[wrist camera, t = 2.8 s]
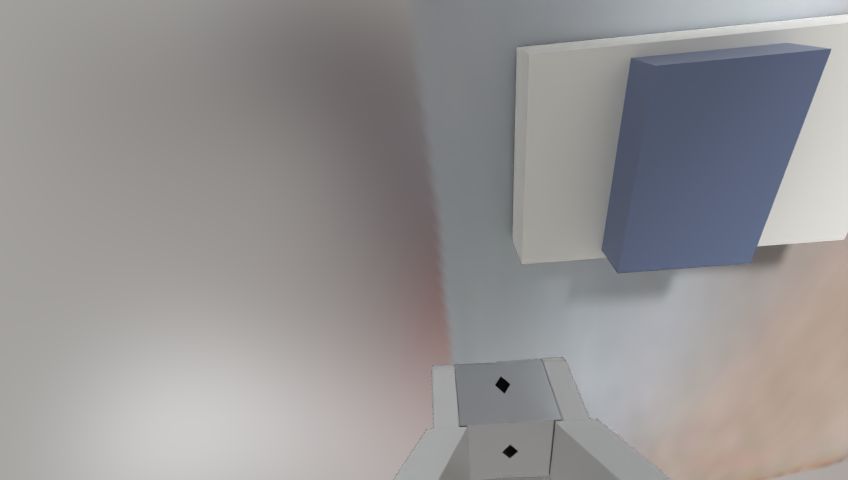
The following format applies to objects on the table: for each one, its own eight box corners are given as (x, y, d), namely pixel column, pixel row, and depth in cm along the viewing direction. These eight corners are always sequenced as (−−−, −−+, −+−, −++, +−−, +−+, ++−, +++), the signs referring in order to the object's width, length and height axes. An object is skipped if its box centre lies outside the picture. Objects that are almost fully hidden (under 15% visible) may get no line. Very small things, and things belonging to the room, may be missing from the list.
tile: (630, 58, 16) (655, 65, 15) (788, 42, 16) (831, 48, 14) (601, 250, 21) (617, 273, 19) (723, 240, 21) (750, 263, 19)
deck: (516, 47, 18) (529, 54, 16) (892, 9, 18) (957, 12, 16) (512, 239, 24) (521, 264, 21) (804, 216, 23) (843, 239, 21)
